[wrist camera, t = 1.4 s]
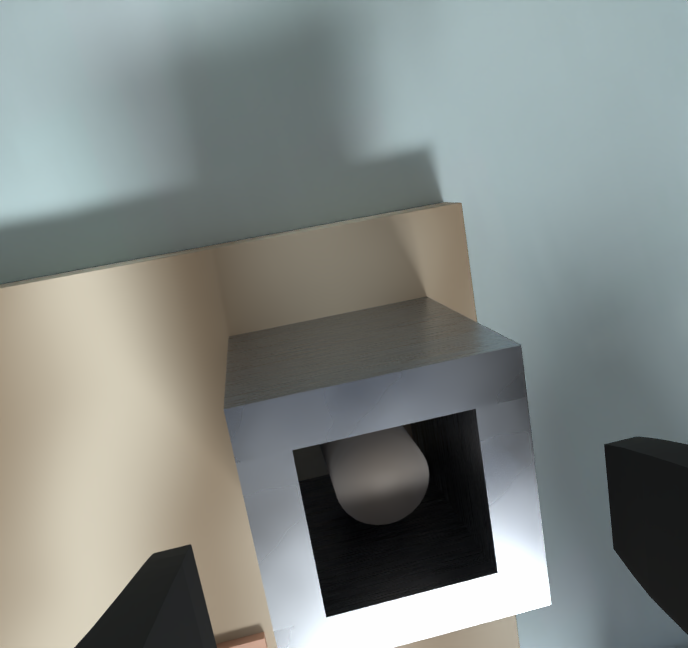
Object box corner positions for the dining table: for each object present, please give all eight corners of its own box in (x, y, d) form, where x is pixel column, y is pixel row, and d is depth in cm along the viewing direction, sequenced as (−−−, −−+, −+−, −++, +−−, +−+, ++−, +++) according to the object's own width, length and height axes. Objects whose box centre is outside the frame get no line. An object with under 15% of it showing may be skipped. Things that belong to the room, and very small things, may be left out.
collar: (426, 296, 18) (521, 345, 12) (453, 478, 19) (551, 604, 13) (228, 336, 17) (223, 408, 11) (268, 522, 18) (284, 677, 12)
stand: (444, 202, 19) (538, 204, 13) (521, 768, 23) (618, 962, 17) (-148, 311, 17) (-354, 372, 11) (58, 907, 21) (-11, 1179, 15)
